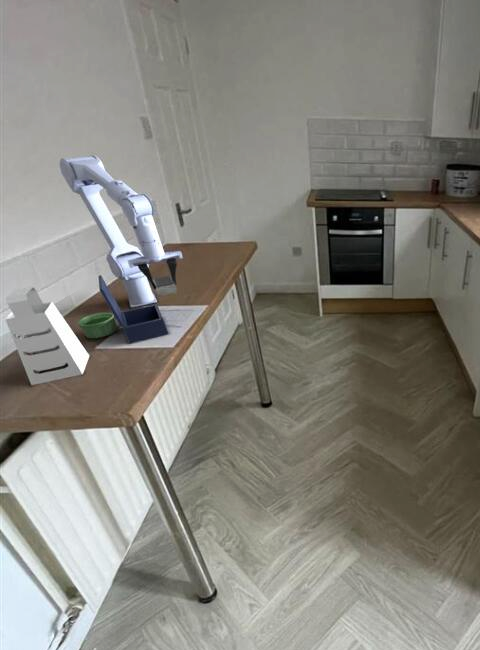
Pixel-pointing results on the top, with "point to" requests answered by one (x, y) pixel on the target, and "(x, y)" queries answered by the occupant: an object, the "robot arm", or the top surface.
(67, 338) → the grater
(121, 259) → the robot arm
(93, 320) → the ramekin
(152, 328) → the dark blue box
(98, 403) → the top surface
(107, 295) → the cover
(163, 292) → the phone
